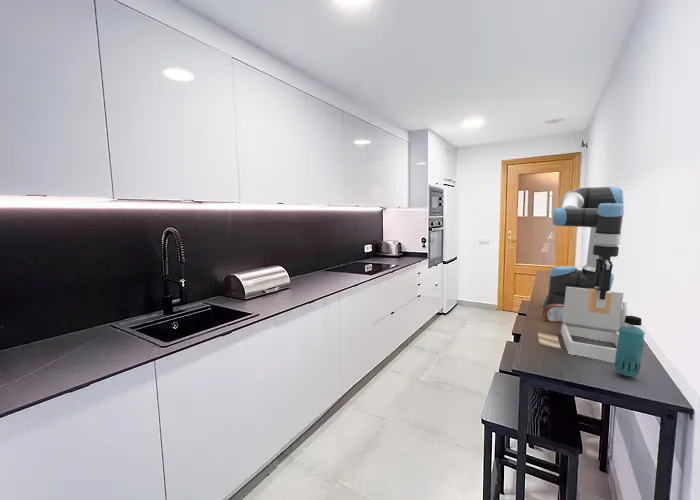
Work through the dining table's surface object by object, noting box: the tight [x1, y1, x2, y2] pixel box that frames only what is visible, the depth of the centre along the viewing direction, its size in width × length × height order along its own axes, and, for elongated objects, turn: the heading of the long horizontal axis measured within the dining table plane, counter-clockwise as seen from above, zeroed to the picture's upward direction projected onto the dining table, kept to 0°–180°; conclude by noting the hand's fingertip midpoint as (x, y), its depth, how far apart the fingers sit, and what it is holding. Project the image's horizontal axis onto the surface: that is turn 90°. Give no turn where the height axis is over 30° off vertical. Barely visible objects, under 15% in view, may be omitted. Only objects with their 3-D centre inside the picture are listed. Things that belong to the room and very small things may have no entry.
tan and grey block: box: [587, 288, 612, 314], centre depth 125 cm, size 5×6×8 cm
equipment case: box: [560, 287, 629, 364], centre depth 126 cm, size 23×21×21 cm
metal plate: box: [537, 332, 562, 350], centre depth 134 cm, size 14×7×1 cm, turn 153°
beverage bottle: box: [614, 315, 645, 377], centre depth 105 cm, size 6×7×20 cm
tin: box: [542, 304, 564, 323], centre depth 157 cm, size 15×3×8 cm, turn 97°
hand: (598, 305), depth 125 cm, fingers closed on tan and grey block, 5 cm apart
